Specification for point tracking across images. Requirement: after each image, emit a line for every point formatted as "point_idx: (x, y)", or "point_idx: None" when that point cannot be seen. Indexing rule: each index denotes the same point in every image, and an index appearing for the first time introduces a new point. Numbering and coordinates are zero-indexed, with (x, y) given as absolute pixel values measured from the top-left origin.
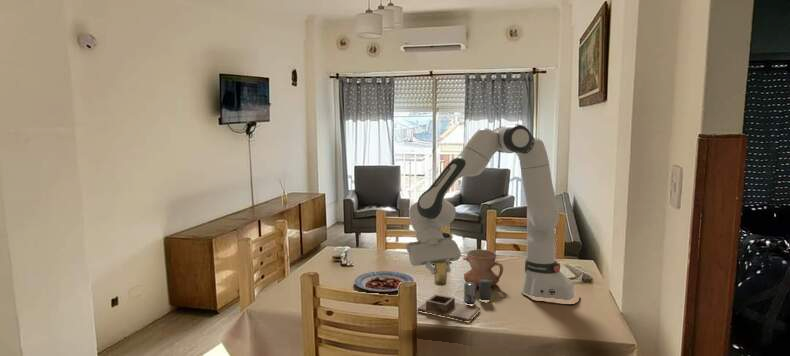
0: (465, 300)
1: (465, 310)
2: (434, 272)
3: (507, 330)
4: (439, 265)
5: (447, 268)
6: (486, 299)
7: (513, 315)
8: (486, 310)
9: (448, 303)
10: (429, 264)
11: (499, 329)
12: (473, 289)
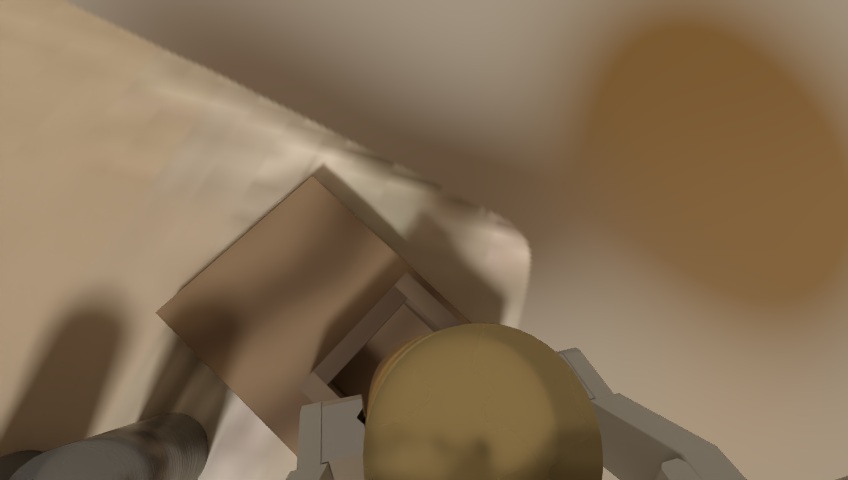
0: (192, 447)
1: (274, 289)
2: (557, 352)
3: (171, 67)
4: (530, 339)
5: (349, 417)
6: (11, 457)
7: (5, 211)
8: (119, 321)
9: (381, 299)
10: (687, 445)
11: (202, 86)
12: (82, 440)
